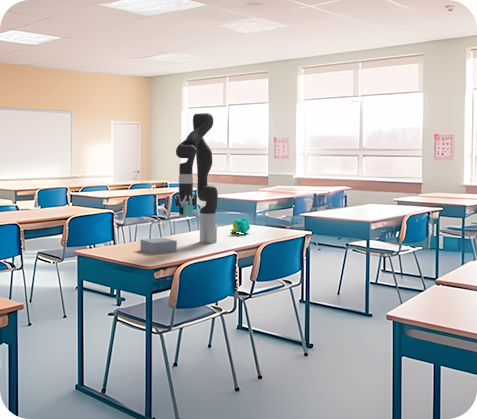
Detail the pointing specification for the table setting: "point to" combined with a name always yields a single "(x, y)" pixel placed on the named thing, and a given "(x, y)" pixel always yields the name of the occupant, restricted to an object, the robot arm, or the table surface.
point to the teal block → (186, 210)
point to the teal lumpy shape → (241, 225)
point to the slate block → (158, 245)
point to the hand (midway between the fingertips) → (185, 214)
